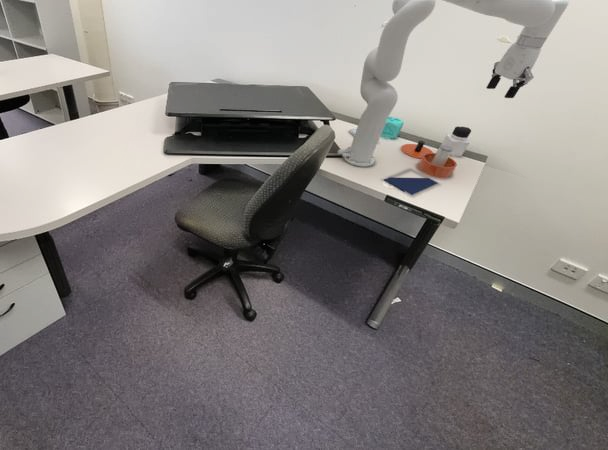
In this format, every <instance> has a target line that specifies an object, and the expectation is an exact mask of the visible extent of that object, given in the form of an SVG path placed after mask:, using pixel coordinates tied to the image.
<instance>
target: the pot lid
mask: <svg viewBox="0 0 608 450" xmlns="http://www.w3.org/2000/svg"><path fill="white" fill-rule="evenodd" d="M425 143H426V142H425V141H424V140H419V141H418V142H417V144H415V143H405V144H402V145H401V147H400V150H401V152H402V153H403V154H405V155H406V156H409V157H411V158H414V159H419V160H421V158H422V156H423V155H424V154H426V153H434V152H433V151H432V149H430V148H428V147H426V146H425Z"/></svg>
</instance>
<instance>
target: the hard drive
mask: <svg viewBox="0 0 608 450" xmlns="http://www.w3.org/2000/svg"><path fill="white" fill-rule="evenodd" d="M356 130H357V128H350V129H349V132H350V133H351V135H353V137H354V136H355V133H356Z"/></svg>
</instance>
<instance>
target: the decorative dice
mask: <svg viewBox="0 0 608 450" xmlns="http://www.w3.org/2000/svg"><path fill="white" fill-rule="evenodd" d="M403 126H404V121H403V120H402V119H401V118H398V117H395V116H389V117H388V119H387V121H386V123H385V126H384V128H383V131H382V133H381V136H380V137H382V138H386V139H391V140H393V139H394V140H395V139H397V137H398V136H399V135H400V133H401V130H402V128H403Z"/></svg>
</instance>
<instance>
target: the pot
mask: <svg viewBox="0 0 608 450" xmlns="http://www.w3.org/2000/svg"><path fill="white" fill-rule="evenodd" d="M436 153H437V152H433V153H426V154H424V155H423V156H422V158H421V159H419V161H418V164H417V168H418V169H419V170H420V171H421V172H422V173H424V174H425V175H428V176H431V177H434V178H438V179H442V178H443V179H445V178H450V177H451V176H452V174H453V173H454V171H455V169H456V168H457V166H458V163H457V161H456V160H454V158H452V157H450V156H449V157H448V159H447V161H446V163H445V164H444V166H443V167H439V166H436V165H433V164H431V162H432V160H433V158H434V156H435V154H436Z"/></svg>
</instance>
